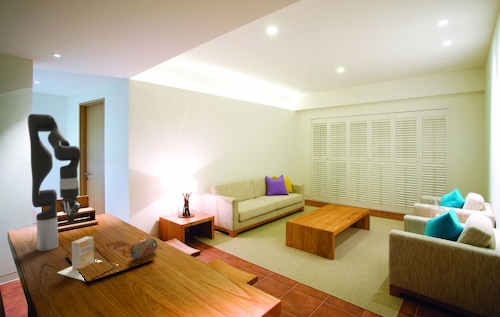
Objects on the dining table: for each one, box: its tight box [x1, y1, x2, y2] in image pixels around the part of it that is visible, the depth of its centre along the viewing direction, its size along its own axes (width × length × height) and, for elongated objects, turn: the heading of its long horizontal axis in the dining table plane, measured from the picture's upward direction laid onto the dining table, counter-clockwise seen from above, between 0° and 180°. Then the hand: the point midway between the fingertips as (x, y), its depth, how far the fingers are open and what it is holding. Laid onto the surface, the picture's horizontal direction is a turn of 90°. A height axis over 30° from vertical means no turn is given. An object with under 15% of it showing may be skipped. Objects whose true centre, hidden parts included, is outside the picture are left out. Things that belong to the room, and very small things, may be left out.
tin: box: [129, 237, 158, 260], centre depth 136 cm, size 15×3×8 cm, turn 147°
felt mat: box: [56, 258, 119, 282], centre depth 122 cm, size 20×16×1 cm
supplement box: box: [71, 236, 95, 270], centre depth 124 cm, size 8×5×13 cm, turn 166°
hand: (70, 222), depth 126 cm, fingers closed
